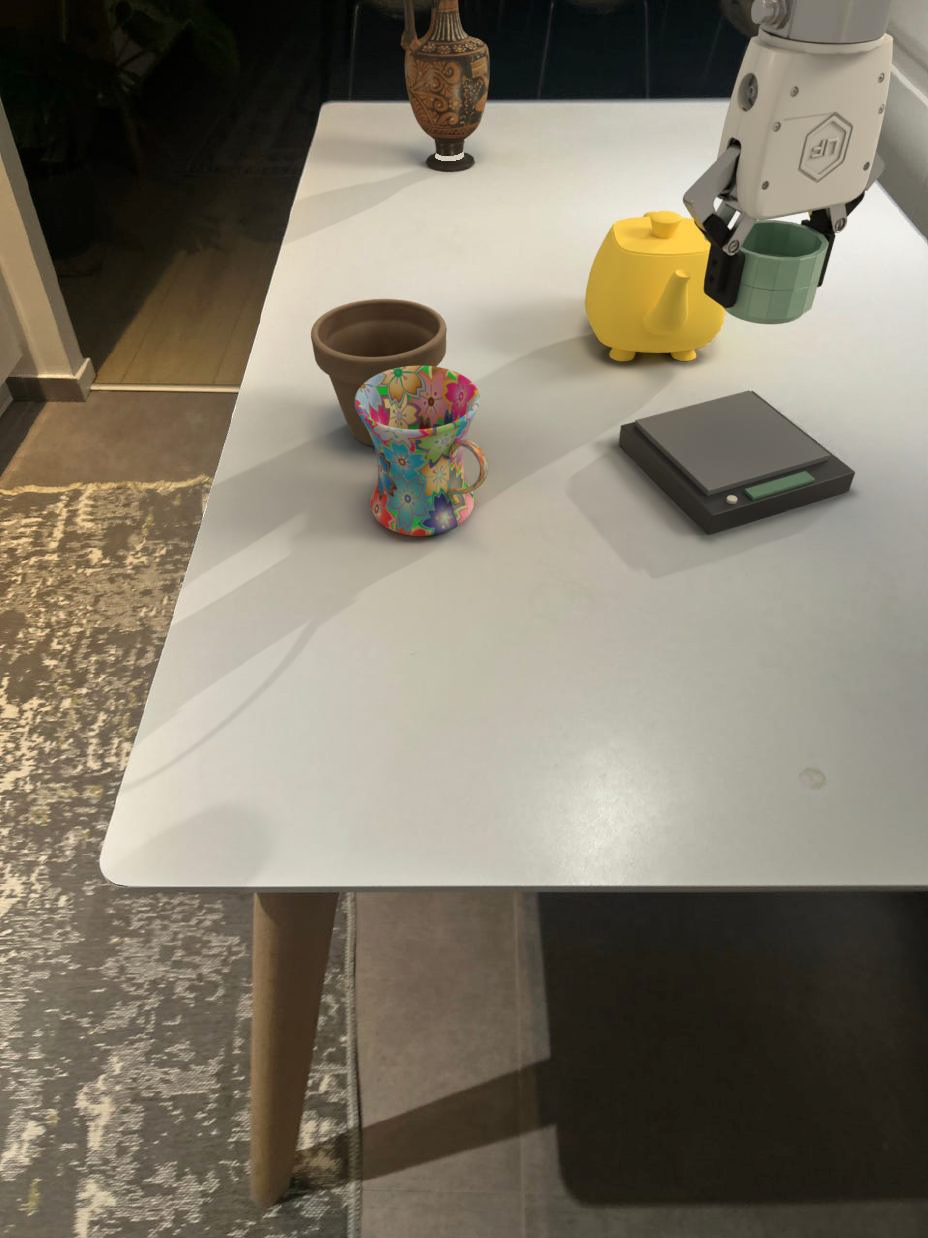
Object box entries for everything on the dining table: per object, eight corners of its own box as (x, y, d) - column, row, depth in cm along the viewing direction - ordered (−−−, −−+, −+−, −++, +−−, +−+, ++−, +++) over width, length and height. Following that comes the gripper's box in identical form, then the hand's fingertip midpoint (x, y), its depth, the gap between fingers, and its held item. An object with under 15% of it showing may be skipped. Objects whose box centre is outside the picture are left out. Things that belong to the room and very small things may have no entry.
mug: (343, 509, 76) (328, 395, 68) (427, 463, 80) (422, 352, 73) (441, 580, 70) (437, 463, 62) (526, 526, 74) (532, 411, 67)
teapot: (700, 301, 102) (721, 180, 93) (737, 397, 87) (766, 266, 78) (575, 302, 102) (585, 181, 93) (592, 398, 88) (605, 267, 79)
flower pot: (359, 385, 90) (349, 286, 83) (467, 408, 87) (466, 307, 80) (300, 448, 82) (284, 344, 75) (416, 476, 79) (410, 370, 72)
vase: (498, 172, 131) (501, -93, 110) (412, 180, 129) (399, -88, 108) (478, 145, 139) (478, -106, 118) (397, 152, 137) (382, -102, 116)
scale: (849, 491, 77) (858, 465, 75) (707, 535, 73) (713, 509, 71) (748, 409, 86) (754, 384, 84) (618, 444, 82) (621, 419, 80)
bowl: (830, 316, 68) (849, 248, 64) (751, 335, 66) (766, 266, 63) (772, 278, 73) (787, 213, 69) (697, 295, 71) (708, 229, 67)
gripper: (744, 41, 51) (691, 335, 64) (980, 9, 56) (888, 288, 69) (671, 13, 56) (635, 291, 69) (894, -15, 61) (822, 250, 74)
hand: (762, 288), depth 69 cm, fingers closed on bowl, 7 cm apart
